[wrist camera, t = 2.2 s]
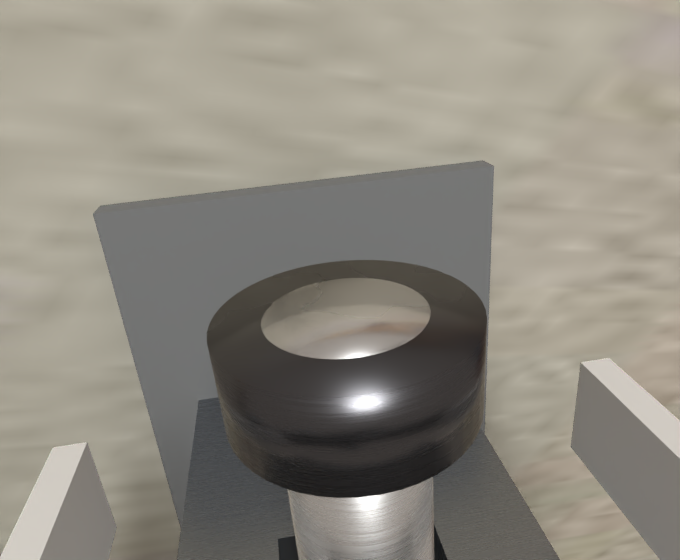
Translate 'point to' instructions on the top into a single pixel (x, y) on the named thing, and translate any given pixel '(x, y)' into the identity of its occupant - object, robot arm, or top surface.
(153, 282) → the mat
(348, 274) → the shaft
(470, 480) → the bearing block
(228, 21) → the top surface
